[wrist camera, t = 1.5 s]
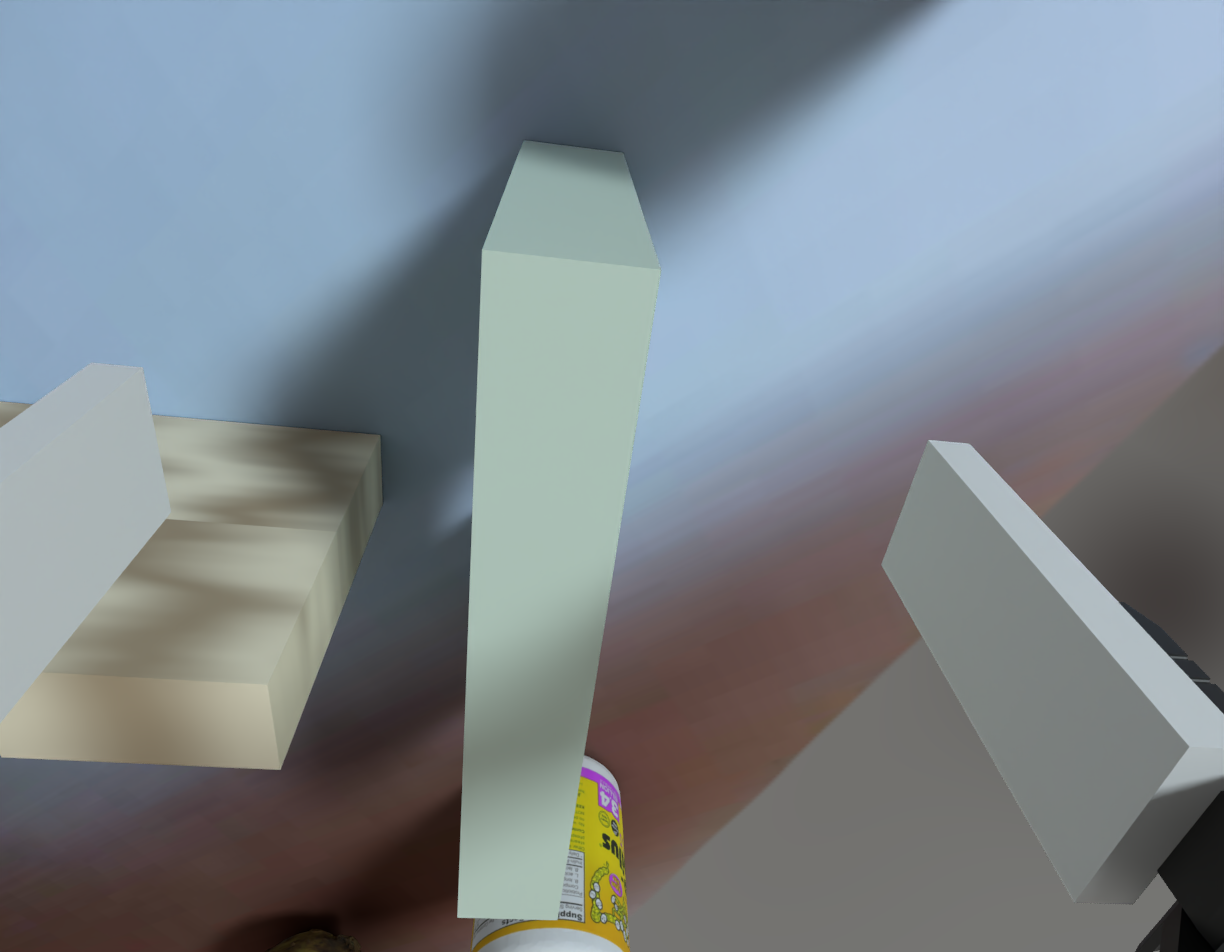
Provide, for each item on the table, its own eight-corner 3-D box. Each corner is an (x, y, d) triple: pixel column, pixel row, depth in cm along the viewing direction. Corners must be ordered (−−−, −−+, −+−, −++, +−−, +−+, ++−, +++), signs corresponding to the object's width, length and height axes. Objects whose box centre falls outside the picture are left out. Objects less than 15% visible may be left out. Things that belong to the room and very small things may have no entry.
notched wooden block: (-129, 462, 28) (-544, 732, 17) (-162, 387, 26) (-638, 634, 16) (382, 503, 29) (280, 769, 19) (380, 434, 28) (267, 684, 18)
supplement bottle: (616, 827, 41) (632, 1130, 30) (490, 828, 40) (459, 1136, 29) (623, 742, 37) (644, 1050, 26) (485, 743, 37) (448, 1056, 26)
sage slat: (523, 139, 23) (482, 249, 13) (623, 152, 23) (661, 269, 13) (493, 636, 33) (457, 917, 23) (562, 640, 33) (557, 920, 23)
